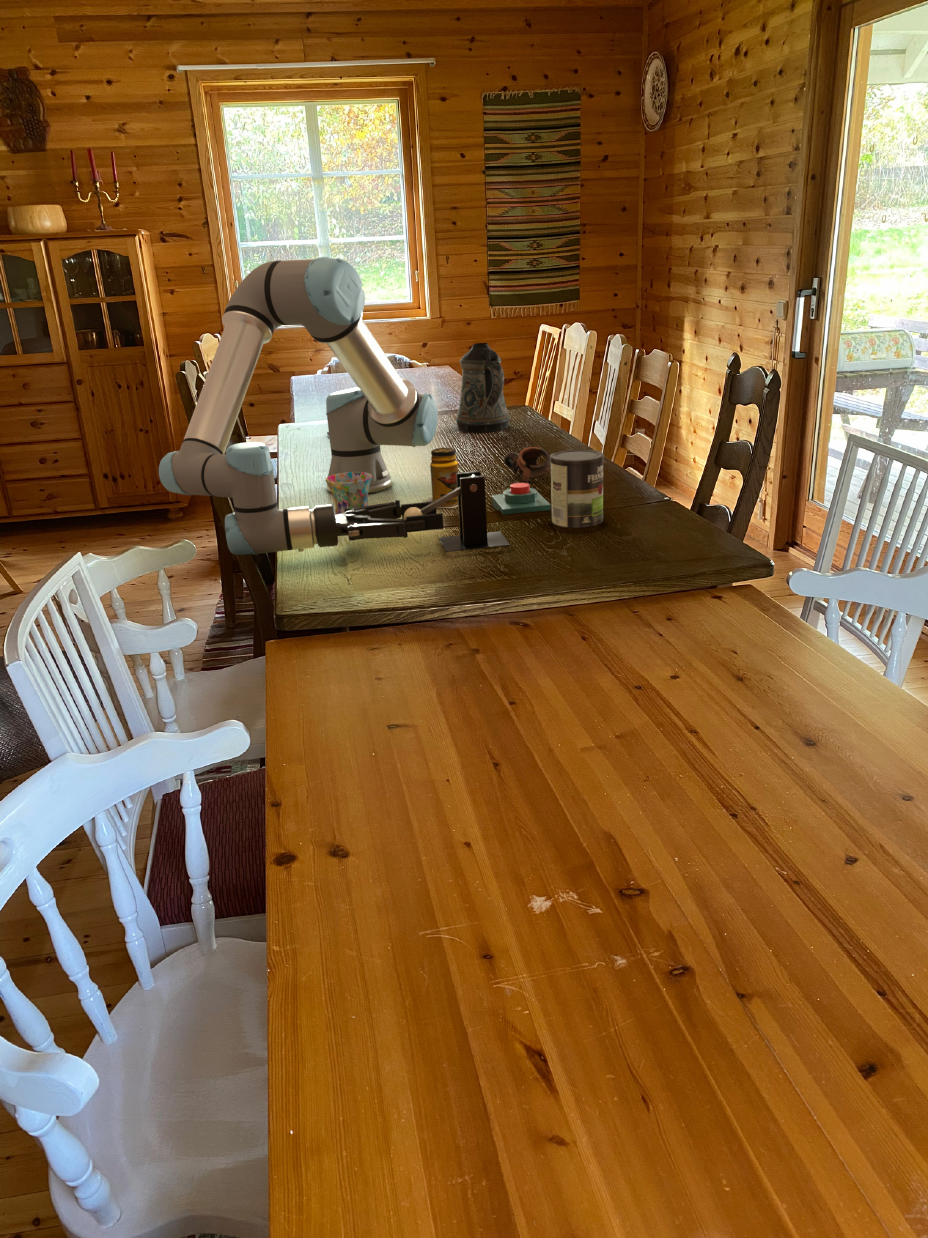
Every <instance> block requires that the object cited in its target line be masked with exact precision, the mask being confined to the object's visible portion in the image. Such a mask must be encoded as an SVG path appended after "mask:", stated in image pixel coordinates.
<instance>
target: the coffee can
mask: <svg viewBox="0 0 928 1238" xmlns="http://www.w3.org/2000/svg"><path fill="white" fill-rule="evenodd" d="M549 456H550V462H551V468H550V492H551V493H550V497H551V503H550V505H551V523H552V524H554V525H555V526H558V527H561V528H571V529H572V528H573V529H574V528H576V529H577V528H589V527H594V526H597V525H600V524H601V523H603V521H604V458H605V454H604V452H601V451H599V450H594V449H585V448H584V449H583V448H582V449H565V450H559V451H556V452H553V453H551V454H549Z"/></svg>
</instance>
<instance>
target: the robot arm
mask: <svg viewBox="0 0 928 1238" xmlns="http://www.w3.org/2000/svg"><path fill="white" fill-rule="evenodd" d="M362 287H363V282H362V278H361V276H360V274H359V273H358V271H357V269H356V268H355V267H354V266H353V264H351V263H350V262H348V261H347V260H345V259H342V258H339V257H329V256H319V257H313V258H311V257H310V258H299V259H298V258H297V259H283V260H281V259H276V260H269V261H266V262H264V263H262V264H260V265H258V266H257V267H255V268H254V269H252V270H251V271H250V272H249V273H248V274H247V275H246V276H245V277H244V278H243V279H242V280H241V282H239V284H238V285H237V287H236V288H235V290H234V292H233V293H232V295H231V296H230V298H229V300H228V303H227V304H226V306H225V309H224V312H223V315H222V317H221V323H222V325H223V327H224V328H223V331H222V334H221V337H220V339H219V342H218V345H217V346H216V347H217V348H216V351H215V353H214V356H213V359H212V361H211V363H210V367H209V369H208V372H207V375H206V377H205V380H204V383H203V385H202V388H201V391H200V393H199V396H198V399H197V402H196V405H195V408H194V410H193V413H192V416H191V419H190V421H189V424H188V426H187V430H186V432H185V435H184V437H183V440H182V443H181V446H180V448H179V450H176V451H175V450H174V451H171V452H168V453H166V454H165V455H164V456H163V457H162V458H161V460H160V463H159V465H158V477H159V481H160V482H161V484H162V486H163V488H165V489H166V490H167V491H168V492H171V493H173V494H179V495H185V496H189V497H190V496H209V497H216V498H228V499H229V498H230V499H232V503H233V509H234V512H232V513H229V514H226V515H225V517H224V530H225V538H226V543H227V544H226V545H227V549H228V550H229V552H230V553H231V554H232V555H235V556H241V555H242V556H244V555H245V556H247V555H256V556H257V555H260V554H270V553H277V552H278V553H279V552H285V551H286V552H287V551H295V550H296V551H297V550H298V552H300V553H302V552H304V550H305V549H314V548H315V545H317V546H318V547H319V548H328V547H336V546H338V545H339V536H348V541H351V542H353V541H359V540H368V539H372V540H373V539H390V538H403V539H406V538H408V537H409V535H408V534H409V533H418V532H425V531H434V530H444V516H443V512H441V513H437V511H438V510H437V508H435V509H434V510H432V511H430V512H428V513H427V514H425V515H418V516H408V517H406V519H404V513H405V511H406V510H407V509H409V508H411V507H416V508H418V509H422V508H424V507H425V506H427V505H429V504H431V503H432V502H426V501H424V502H414V503H413V502H412V503H403V504H402V503H401V500H400V499H399V500H398V499H396V500H395V501H391V502H383V503H377V504H370V505H369V504H368V506H362V507H351V508H348V507H347V508H344V512H345V513H341V514H336V515H335V505H333V504H319V505H315V506H314V507H313V508H312V509H311V507H310V506H309V505H307V506H306V505H305V506H296V507H288V508H279V507H278V499H277V491H276V482H275V473H274V465H273V462H272V458H271V457H272V456H271V452H270V449H269V447H268V446H267V445H266V444H265V443H264V442H258V441H251V442H240V443H239V442H238V443H234V444H231V445H228V444H229V441H230V439H231V436H232V434H233V430H234V428H235V425H236V422H237V419H238V417H239V413H240V411H241V408H242V405H243V403H244V400H245V397H246V394H247V392H248V388H249V385H250V383H251V380H252V377H253V375H254V372H255V369H256V367H257V364H258V361H259V358H260V355H261V351H262V349H263V347H264V344H268V343H269V342H270V341H272V337H273V334H274V332H275V331H276V330H277V328H279V327H281V326H302V327H304V328H305V330H306V331H307V333H308V334H309V335H310V336H311V338H312V339H313V340H314V341H316V342H318V343H321V344H326V345H327V347H328V348H329V350H331V352H332V353H333V355H334V357H336V359H337V360H338V361H339V363H340V364H341V366H342V367H343V369H344V370H345V371H346V373H347V374H348V375H349V377H350V378H351V379H352V381H353V382H354V383H355V385H356V387H353V388H348V389H342V390H339V391H335V392H332V393H330V394H328V396H327V397H326V399H325V402H326V403H325V408H326V411H325V415H326V419H327V428H328V431H327V432H326V435H327V436H329V445H330V454H331V459H330V465H329V468H328V473H327V477H329V476H331V475H334V474H339V473H345V472H365V473H369V474H371V475H372V478H371V481H370V485H369V490H368V494H373V493H379V492H382V491H384V490H387V489H389V488H390V487H391V486H392V479H391V478H392V477H391V474H390V472H389V470H388V467H387V465H386V463H385V462H386V461H385V460H384V457H383V455H382V450H381V446H396V447H397V446H398V447H399V446H400V447H412V448H416V447H426V446H428V445H429V444H430V443H432V441H433V440H434V437H435V434H436V432H437V428H438V426H437V425H438V420H439V419H438V418H439V412H438V411H439V410H438V404H437V403H438V402H437V400H436V398H435V396H434V395H432V394H430V393H427V392H424V393H420V392H419V391H418V390H417V388H416V387H415V385H414V384H413V383H412V382H411V381H410V380H408V379H406V378H402V377H401V376H400V375H399V373H398V372H397V370H396V369H395V367H394V366H393V364H392V362H391V361H390V360H389V358H388V357H387V355H386V353H385V352H384V350H383V349H382V347H381V345H380V344H379V343H378V341H377V339H376V338H375V336H374V335H373V333H372V331H371V330H370V328H369V327H368V325H367V324H366V322H365V320H363V314H364V309H365V303H366V302H365V301H366V296H365V295H366V294H365V290H363V288H362ZM326 488H327V491H328V492H329V493H331V490H330V488H329V486H328V484H327V483H326ZM433 502H434V501H433Z"/></svg>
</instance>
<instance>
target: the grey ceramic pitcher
mask: <svg viewBox="0 0 928 1238" xmlns="http://www.w3.org/2000/svg"><path fill="white" fill-rule="evenodd" d="M501 362H502V359H501V357H500V355H499V354H498V353H497V352H496V351H495V350H494V349H492V348H491V347H490V346H489V342H476V343H473V344H472V346H471V348H470V350H469V351H467V352H466V353H465V354H464V355H463V356H461V358H460V359H459V364H460V368H461V369H462V375H461V387H460V399H459V405H458V411H457V414H456V417H455V421H456V425H457V429H458V431H459V432H464V433H473V434H478V433H480V434H481V433H482V434H485V433H493V432H500V431H504V430H506V429H507V428H509V425H510V424H509V423H510V417H511V416H510V413H509V410H508V408H507V403H506V400H505V395H504V385H505V373H504V369H503V367H502V365H501Z"/></svg>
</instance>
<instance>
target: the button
mask: <svg viewBox="0 0 928 1238" xmlns="http://www.w3.org/2000/svg"><path fill="white" fill-rule="evenodd" d="M509 486H510V488H509V489H510V490H511V494H526V493H530V488H531V486H530V484H529V483H528V482H515V483H511V484H510V485H509Z"/></svg>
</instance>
